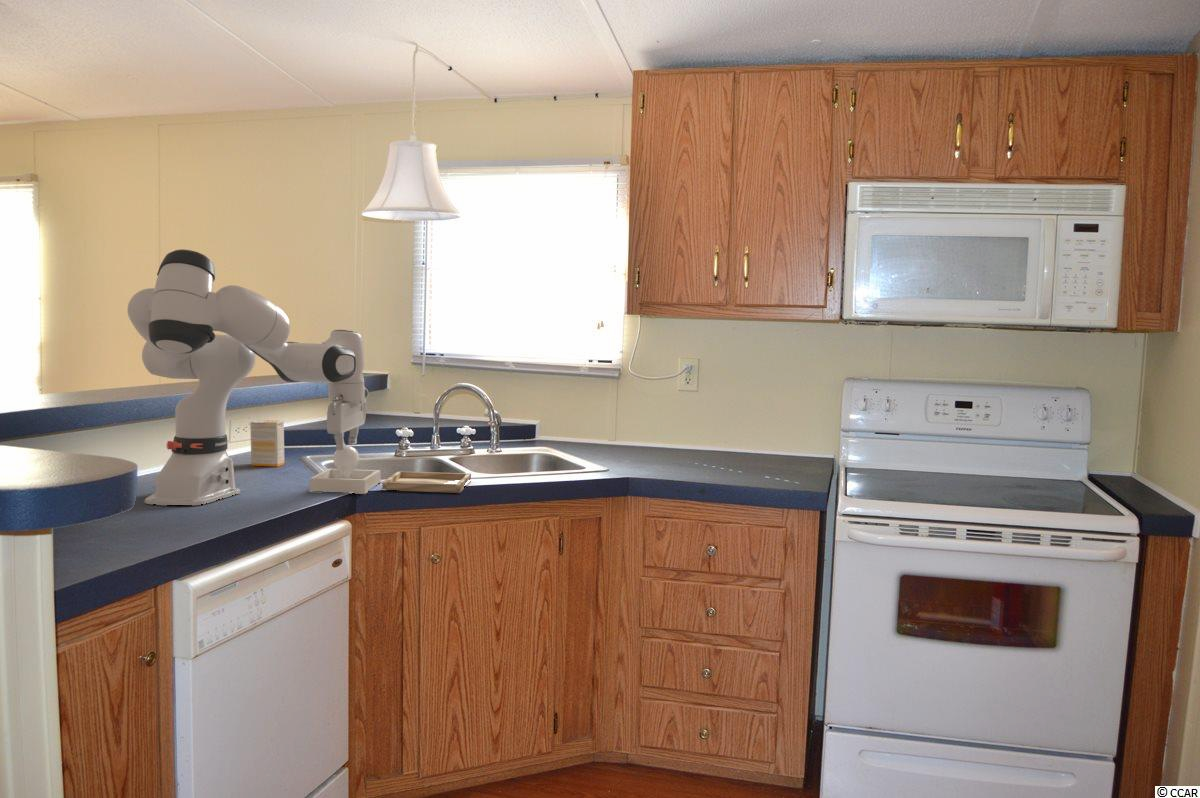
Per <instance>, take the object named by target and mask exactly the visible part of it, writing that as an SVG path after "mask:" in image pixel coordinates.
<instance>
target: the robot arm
mask: <svg viewBox="0 0 1200 798" xmlns="http://www.w3.org/2000/svg"><path fill="white" fill-rule="evenodd" d="M156 275H157V277H156V281H155V285H154V287H152V288H151V287H150V288H145V289H144V288H143V289H141V290H139V291H138V292H136V293H135V294H134V295H133V296H132V297H131V298H130V300H129V301H128V303H127V316H128V318H129V320H130V323H131V324H132V325H133V327H134V329H135V330H136V332H137V333H138V334H139V335H140V336H141V337H142V339H144V340H145V341H146V342H145V344H144V345H143V348H142V350H141V360H142V362H143V365H144V367H145V369H146V370H147V372H148V373H149V374H151V375H154V376H158V377H161V378H166V379H172V380H174V379H177V380H181V379H183V380H198V386H197V389H196V391H194V392H193V393H189V394H188V395H186V396H184V397H182V398H181V399H179V401H178V402H177V403H176V406H175V409H174V410H175V411H174V415H175V416H174V417H175V421H174V422H175V436H173V439H172V440H169V441H167V442H166V449H167V450H171V451H170V452H171V455H170V456H169V459H167V460H166V463H165V464H164V465H163V467H162V468H161V470H160V471H159V473H158V475H157V477H156V482H155V484H156V485H155V488H156V490H155V492H154V493H153V494H150V495H149V496H147V497H146V498H144V503H145V504H146V505H147V504H148V505H153V504H156V505H155V506H167V505H192V506H202V505H201V504H203V505H207V504H209V503H212V502H216V500H217V501H219V500H218V499H220V500H223V499H225V498H229V497H232V495H233V496H236V495H239V494H241V489H240V487H239V488H238V487H236V482H235V471H234V461H233V459H232V458H231V457H230V455H228V452H227V450H228V444H229V440H228V435H227V434H226V416H227V415H226V413H227V405H228V401H229V398H230V395H231V393H232V391H233V390H234V388H235V387H236V386H237V385H238V384H239V383H240V382H241V381H243V379H245V378H246V377H247V376H249V375H250V373H251V372H252V371H253V369H254V366H255V364H256V355H257V356H258V357H260V359H262V360H264V361H265V362H266V363H268V364H269V365H270V366H271V367H272V368H273V369H274V371H275V372H276V374H277V375H278V376H279V377H280V378H281V379H282V380H283V381H284V382H286V383H301V382H304V383H315V384H316V383H317V384H318V383H321V384H328V392H327V393H328V401H330V402H331V403H329V404H328V406H327V413H326V431H327V434H331V435H333V438H334V442H335V450H343V449H345V445H346V442H345V440H344V437H345V433H346V432H349V436H348V442H347V443H348V445H351V446H352V445H353V446H354V445H356V444H357V443H358V434H359V432H360V431H359V430H360V429H359V427H360V426H361V427H362V426H364V425H365V422H366V418H367V417H366V416H367V399H368V398H369V390H368V389H367V388H366V387H365V378H364V373H363V371H364V368H365V347H364V343H363V342H364V341H363V337H362V335H361V334H360V333H358V332H356V331H353V330H347V329H334V330H331V331H330V335H329V338H328V339H326V340H325V341H324V342H323V341H322V342H321V343H313V342H312V343H310V342H309V343H308V342H307V343H306V342H295V341H287V340H288V338H289V334H290V331H291V324H290V323H291V322H290V317H289V316H288V315H287V314H286V312H285V311H284V310H283V309H282V308H281V307H280V306H279V305H277V304H275V303H274V302H273V301H272V300H269V299H268V298H267V297H265V296H263V295H261V294H259V293H258V292H255V291H253V290H250V289H248V288H245V287H242V286H241V285H240V286H239V285H233V284H231V285H226V286H222V287H221V288H219V289H218V290H217V291H215V292H213V291H214V282H215V280H216V273H215V264H214V263H213V261H212V260H211V259H210V258H209V257H207V256H206V254H203V253H200V252H198V251H195V250H191V249H176V250H173V251H171V252H168V253H167V254H166V255H165V256H164V257H163V259H162V262H161V263H160V266H159V268H158V271H157V274H156ZM215 332H221V333H224V334H219V333H218V334H215ZM235 494H236V495H235ZM222 498H223V499H222ZM206 503H207V504H206Z"/></svg>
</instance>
